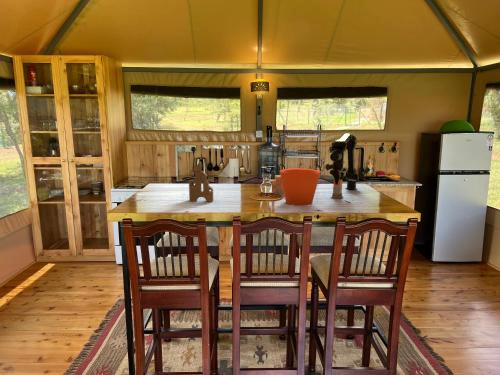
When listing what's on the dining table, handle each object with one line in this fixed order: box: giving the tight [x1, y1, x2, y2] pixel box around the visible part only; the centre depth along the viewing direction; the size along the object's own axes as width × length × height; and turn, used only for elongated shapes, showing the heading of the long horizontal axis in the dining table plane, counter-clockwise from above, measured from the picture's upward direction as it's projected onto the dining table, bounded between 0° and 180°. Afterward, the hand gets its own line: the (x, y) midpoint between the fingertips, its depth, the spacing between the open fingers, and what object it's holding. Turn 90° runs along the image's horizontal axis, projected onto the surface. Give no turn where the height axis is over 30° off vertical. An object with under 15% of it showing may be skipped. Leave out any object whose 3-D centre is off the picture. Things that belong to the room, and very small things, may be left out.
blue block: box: [332, 186, 343, 194], centre depth 231 cm, size 4×4×4 cm
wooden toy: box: [188, 161, 214, 203], centre depth 219 cm, size 15×7×25 cm, turn 88°
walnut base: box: [330, 193, 344, 200], centre depth 231 cm, size 6×6×3 cm
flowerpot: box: [279, 167, 322, 207], centre depth 216 cm, size 25×25×20 cm
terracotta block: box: [332, 179, 343, 188], centre depth 230 cm, size 4×4×4 cm
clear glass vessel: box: [261, 174, 284, 195], centre depth 246 cm, size 21×6×12 cm, turn 95°
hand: (337, 183), depth 230 cm, fingers open, 6 cm apart
